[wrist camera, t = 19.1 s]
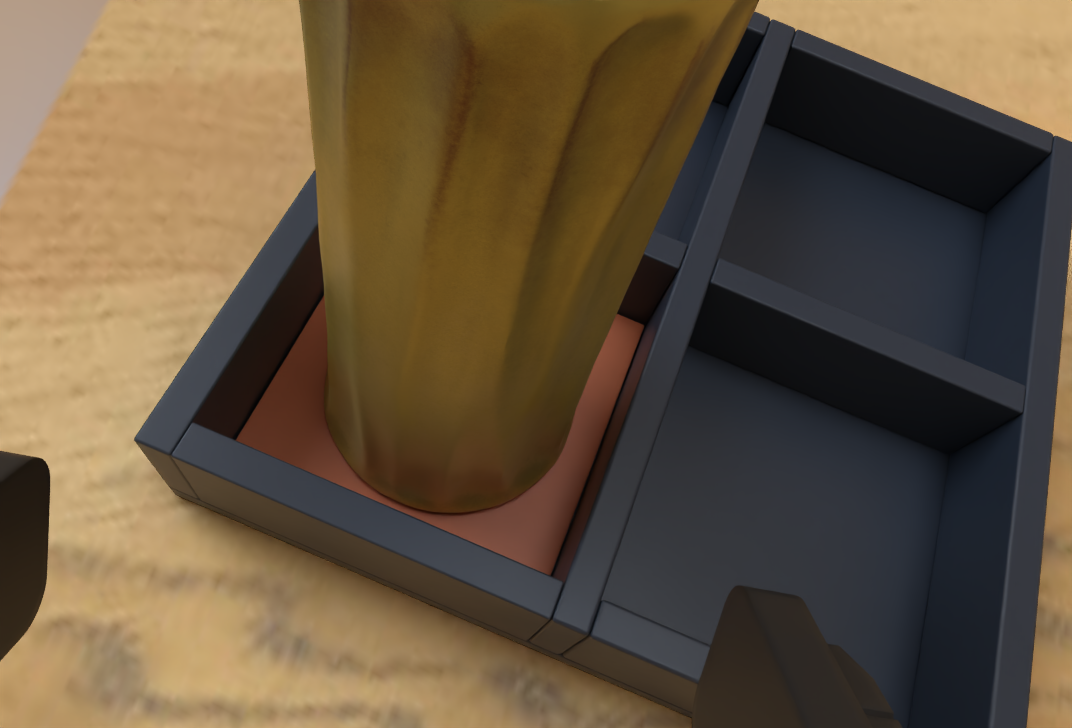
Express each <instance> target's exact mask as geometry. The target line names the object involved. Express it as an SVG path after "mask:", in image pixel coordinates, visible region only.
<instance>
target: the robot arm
mask: <svg viewBox="0 0 1072 728" xmlns="http://www.w3.org/2000/svg"><path fill="white" fill-rule="evenodd" d="M49 503H50V472H49V468H48V465H47V464H46V462H45V461H44V460H43V459H41V458H37V457H31V456H26V455H20V454H15V453H9V452H4V451H0V661H1V660H2V659H3V657H4V656H5V655H6V654H7V653H8V652H9V651H10V650H11V649H12V647H13V646H14V645H15V644H16V643H17V642H18V641H19V640H20V638H21V637H22V636H23V635H24V634H25V632H26V631H27V630H28V628H29V627H30V625H31V623H32V622H33V620H34V618H35V616H36V614H37V612H38V609H39V607H40V604H41V601H42V598H43V595H44V591H45V586H46V580H47V559H48V531H49ZM893 715H894V713H893V711H892V709H891V707H890V706H889V704H888V702H887V701H886V699H885V697H884V695H883V694H882V692H881V690H880V689H879V687H878V685H877V684H876V682H875V680H874V678H873V677H872V676H871V675H869V674H868V673H867V672H866V671H865V670H864V669H863V668H862V667H861V666H860V665H859V664H858V663H857V662H856V661H855V660H854V659H853V658H852V657H851V656H850V655H848V654H847V653H846V652H845V651H844V650H843V649H842V648H841V647H840V646H838V645H833V644H827V643H826V641H825V639H824V637H823V635H822V633H821V632H820V630H819V628H818V626H817V624H816V622H815V620H814V619H813V617H812V615H811V613H810V611H809V609H808V608H807V606H806V604H805V602H804V601H803V599H802V598H801V597H799V596H797V595H792V594H786V593H781V592H775V591H769V590H764V589H758V588H753V587H747V586H741V585H737V586H735V587H734V588H733V589H732V590H731V591H730V593H729V595H728V597H727V599H726V601H725V604H724V607H723V610H722V613H721V616H720V619H719V622H718V625H717V628H716V631H715V634H714V637H713V640H712V643H711V646H710V649H709V652H708V656H707V659H706V662H705V665H704V668H703V671H702V674H701V677H700V680H699V683H698V686H697V689H696V693H695V697H694V703H693V712H692V728H902V726H901V724H900V723H899V721H898V720H894V718H893Z"/></svg>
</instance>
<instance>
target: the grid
mask: <svg viewBox="0 0 1072 728" xmlns="http://www.w3.org/2000/svg"><path fill="white" fill-rule="evenodd" d="M1071 229H1072V142H1071V141H1068V140H1066V139H1063V138H1061V137H1058V136H1054V137H1053V134H1052V133H1049V132H1047V131H1044V130H1042V129H1040V128H1037V127H1035V126H1032V125H1030V124H1027V123H1025V122H1023V121H1020V120H1018V119H1015V118H1013V117H1010V116H1008V115H1006V114H1003V113H1001V112H998V111H996V110H993V109H991V108H988V107H986V106H984V105H981V104H979V103H976V102H974V101H971V100H969V99H967V98H964V97H962V96H959V95H957V94H954V93H952V92H950V91H947V90H945V89H942V88H940V87H937V86H935V85H932V84H930V83H928V82H925V81H923V80H920V79H918V78H915V77H913V76H911V75H908V74H906V73H903V72H901V71H898V70H896V69H893V68H891V67H889V66H886V65H884V64H881V63H879V62H876V61H874V60H872V59H869V58H867V57H864V56H862V55H859V54H857V53H855V52H852V51H850V50H847V49H845V48H842V47H840V46H837V45H835V44H833V43H830V42H828V41H825V40H823V39H820V38H818V37H816V36H813V35H811V34H808V33H806V32H803V31H801V30H797V31H796V32H795V29H794V28H793V27H791V26H788V25H786V24H783V23H781V22H778V21H776V20H771V21H770V18H769V17H767V16H764V15H762V14H759V13H757V12H754V13H753V15H752V17H751V20H750V22H749V24H748V26H747V28H746V31H745V33H744V35H743V37H742V39H741V41H740V43H739V45H738V47H737V49H736V51H735V53H734V55H733V57H732V59H731V61H730V63H729V65H728V67H727V69H726V71H725V73H724V75H723V77H722V79H721V81H720V83H719V85H718V88H717V90H716V92H715V95H714V97H713V100H712V102H711V104H710V107H709V109H708V111H707V114H706V116H705V118H704V121H703V123H702V125H701V128H700V130H699V132H698V134H697V136H696V139H695V141H694V143H693V145H692V147H691V150H690V152H689V154H688V156H687V158H686V160H685V162H684V165H683V167H682V169H681V171H680V173H679V175H678V178H677V180H676V182H675V184H674V187H673V189H672V191H671V193H670V196H669V198H668V200H667V202H666V205H665V207H664V209H663V211H662V213H661V215H660V218H659V220H658V222H657V224H656V226H655V228H654V231H653V233H652V235H651V238H650V240H649V242H648V245H647V247H646V249H645V252H644V254H643V256H642V259H641V261H640V263H639V265H638V267H637V270H636V272H635V274H634V276H633V278H632V280H631V282H630V285H629V287H628V289H627V291H626V294H625V296H624V298H623V300H622V303H621V305H620V307H619V310H618V312H617V314H616V317H615V319H614V321H613V323H612V326H611V328H610V330H609V333H608V335H607V337H606V339H605V341H604V344H603V346H602V348H601V350H600V352H599V355H598V357H597V359H596V361H595V363H594V366H593V368H592V371H591V373H590V376H589V378H588V381H587V384H586V386H585V389H584V391H583V393H582V396H581V398H580V400H579V403H578V405H577V407H576V410H575V414H574V418H573V422H572V426H571V429H570V432H569V435H568V438H567V441H566V444H565V446H564V448H563V451H562V453H561V455H560V457H559V458H558V460H557V461H556V463H555V465H554V466H553V467H552V468H551V469H550V470H549V471H548V472H547V473H546V474H545V475H544V476H543V477H542V478H541V479H540V480H539V481H538V482H537V483H536V484H534V485H533V486H532V487H530V488H529V489H528V490H527V491H525V492H523V493H522V494H520V495H518V496H517V497H515V498H513V499H511V500H509V501H507V502H505V503H502V504H500V505H497V506H494V507H491V508H487V509H482V510H478V511H471V512H462V513H439V512H431V511H425V510H421V509H417V508H413V507H411V506H408V505H405V504H402V503H400V502H398V501H396V500H393V499H391V498H389V497H387V496H385V495H383V494H382V493H380V492H378V491H377V490H376V489H374V488H373V487H371V486H370V485H369V484H368V483H366V482H365V481H364V480H363V479H362V478H361V477H360V476H359V475H358V474H357V473H356V472H355V471H354V470H353V469H352V468H351V466H350V465H349V464H348V463H347V462H346V460H345V458H344V457H343V455H342V454H341V452H340V451H339V449H338V447H337V445H336V444H335V442H334V440H333V437H332V435H331V433H330V430H329V427H328V424H327V421H326V417H325V410H324V387H325V378H326V373H327V369H328V362H327V323H326V311H325V297H324V281H323V270H322V261H321V253H320V243H319V227H318V207H317V187H316V169H315V171H314V172H313V174H312V175H311V176H310V178H309V179H308V181H307V182H306V184H305V185H304V187H303V188H302V190H301V191H300V193H299V194H298V196H297V197H296V199H295V200H294V202H293V203H292V205H291V206H290V208H289V209H288V211H287V212H286V214H285V215H284V217H283V218H282V220H281V221H280V223H279V224H278V226H277V227H276V229H275V230H274V231H273V233H272V234H271V236H270V237H269V239H268V240H267V242H266V243H265V245H264V246H263V248H262V249H261V251H260V252H259V254H258V255H257V257H256V258H255V260H254V261H253V263H252V264H251V266H250V267H249V269H248V270H247V272H246V273H245V275H244V276H243V278H242V279H241V281H240V282H239V284H238V285H237V286H236V288H235V289H234V291H233V292H232V294H231V295H230V297H229V298H228V300H227V301H226V303H225V304H224V306H223V307H222V309H221V310H220V312H219V313H218V315H217V316H216V318H215V319H214V321H213V322H212V324H211V325H210V327H209V328H208V330H207V331H206V333H205V334H204V336H203V337H202V339H201V340H200V341H199V343H198V344H197V346H196V347H195V349H194V350H193V352H192V353H191V355H190V356H189V358H188V359H187V361H186V362H185V364H184V365H183V367H182V368H181V370H180V371H179V373H178V374H177V376H176V377H175V379H174V380H173V382H172V383H171V385H170V386H169V388H168V389H167V391H166V392H165V393H164V395H163V396H162V398H161V399H160V401H159V402H158V404H157V405H156V407H155V408H154V410H153V411H152V413H151V414H150V416H149V417H148V419H147V420H146V422H145V423H144V425H143V426H142V428H141V429H140V431H139V432H138V434H137V435H136V437H135V439H134V441H135V442H136V443H137V445H138V446H139V447H140V449H141V450H142V451H143V453H144V454H145V455H146V457H147V458H148V459H149V461H150V462H151V463H152V465H153V466H154V467H155V469H156V470H157V471H158V473H159V474H160V475H161V477H162V478H163V479H164V480H165V482H166V483H167V484H168V486H169V487H170V488H171V490H172V491H173V492H174V493H175V494H176V495H178V496H180V497H183V498H185V499H187V500H189V501H192V502H194V503H196V504H199V505H201V506H203V507H206V508H208V509H210V510H213V511H215V512H217V513H219V514H222V515H224V516H226V517H229V518H231V519H233V520H236V521H238V522H240V523H243V524H245V525H247V526H250V527H252V528H254V529H256V530H259V531H261V532H263V533H266V534H268V535H270V536H273V537H275V538H277V539H280V540H282V541H284V542H286V543H289V544H291V545H293V546H296V547H298V548H300V549H303V550H305V551H307V552H310V553H312V554H314V555H317V556H319V557H321V558H323V559H326V560H328V561H330V562H333V563H335V564H337V565H340V566H342V567H344V568H347V569H349V570H351V571H353V572H356V573H358V574H360V575H363V576H365V577H367V578H370V579H372V580H374V581H377V582H379V583H381V584H383V585H386V586H388V587H390V588H393V589H395V590H397V591H400V592H402V593H404V594H407V595H409V596H411V597H414V598H416V599H418V600H420V601H423V602H425V603H427V604H430V605H432V606H434V607H437V608H439V609H441V610H444V611H446V612H448V613H450V614H453V615H455V616H457V617H460V618H462V619H464V620H467V621H469V622H471V623H474V624H476V625H478V626H481V627H483V628H485V629H487V630H490V631H492V632H494V633H497V634H499V635H501V636H504V637H506V638H508V639H511V640H513V641H515V642H517V643H520V644H522V645H524V646H527V647H529V648H531V649H534V650H536V651H538V652H541V653H543V654H545V655H548V656H550V657H552V658H554V659H557V660H559V661H561V662H564V663H566V664H568V665H571V666H573V667H575V668H578V669H580V670H582V671H584V672H587V673H589V674H591V675H594V676H596V677H598V678H601V679H603V680H605V681H608V682H610V683H612V684H615V685H617V686H619V687H621V688H624V689H626V690H628V691H631V692H633V693H635V694H638V695H640V696H642V697H645V698H647V699H649V700H651V701H654V702H656V703H658V704H661V705H663V706H665V707H668V708H670V709H672V710H675V711H677V712H679V713H681V714H684V715H686V716H688V717H691V718H692V712H693V703H694V697H695V693H696V689H697V686H698V683H699V680H700V677H701V674H702V671H703V668H704V665H705V662H706V659H707V656H708V652H709V649H710V646H711V643H712V640H713V637H714V634H715V631H716V628H717V625H718V622H719V619H720V616H721V613H722V610H723V607H724V604H725V601H726V599H727V597H728V595H729V593H730V591H731V590H732V589H733V588H734V587H735V586H737V585H741V586H747V587H753V588H758V589H764V590H769V591H775V592H781V593H786V594H792V595H797V596H799V597H801V598H802V599H803V601H804V602H805V604H806V606H807V608H808V609H809V611H810V613H811V615H812V617H813V619H814V620H815V622H816V624H817V626H818V628H819V630H820V632H821V633H822V635H823V637H824V639H825V641H826V643H827V644H833V645H838V646H840V647H841V648H842V649H843V650H844V651H845V652H846V653H847V654H848V655H850V656H851V657H852V658H853V659H854V660H855V661H856V662H857V663H858V664H859V665H860V666H861V667H862V668H863V669H864V670H865V671H866V672H867V673H868V674H869V675H871V676H872V677H873V678H874V680H875V682H876V684H877V685H878V687H879V689H880V690H881V692H882V694H883V695H884V697H885V699H886V701H887V702H888V704H889V706H890V707H891V709H892V711H893V713H894V715H893V718H894V720H898V721H899V723H900V724H901V726H902V728H1026V727H1027V716H1028V705H1029V694H1030V683H1031V672H1032V661H1033V650H1034V639H1035V628H1036V617H1037V606H1038V594H1039V583H1040V572H1041V561H1042V550H1043V539H1044V528H1045V517H1046V506H1047V495H1048V484H1049V473H1050V462H1051V450H1052V439H1053V428H1054V417H1055V406H1056V395H1057V384H1058V373H1059V362H1060V351H1061V340H1062V329H1063V317H1064V306H1065V295H1066V284H1067V273H1068V262H1069V251H1070V240H1071Z"/></svg>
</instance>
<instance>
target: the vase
mask: <svg viewBox="0 0 1072 728" xmlns="http://www.w3.org/2000/svg"><path fill="white" fill-rule="evenodd" d="M758 2H759V0H299V4H300V13H301V22H302V31H303V41H304V51H305V62H306V74H307V86H308V97H309V109H310V121H311V132H312V142H313V150H314V159H315V169H316V187H317V207H318V227H319V243H320V253H321V261H322V270H323V281H324V297H325V311H326V323H327V362H328V369H327V373H326V378H325V387H324V410H325V417H326V421H327V424H328V427H329V430H330V433H331V435H332V437H333V440H334V442H335V444H336V445H337V447H338V449H339V451H340V452H341V454H342V455H343V457H344V458H345V460H346V462H347V463H348V464H349V465H350V466H351V468H352V469H353V470H354V471H355V472H356V473H357V474H358V475H359V476H360V477H361V478H362V479H363V480H364V481H365V482H366V483H368V484H369V485H370V486H371V487H373V488H374V489H376V490H377V491H378V492H380V493H382V494H383V495H385V496H387V497H389V498H391V499H393V500H396V501H398V502H400V503H402V504H405V505H408V506H411V507H413V508H417V509H421V510H425V511H431V512H439V513H462V512H471V511H478V510H482V509H487V508H491V507H494V506H497V505H500V504H502V503H505V502H507V501H509V500H511V499H513V498H515V497H517V496H518V495H520V494H522V493H523V492H525V491H527V490H528V489H529V488H530V487H532V486H533V485H534V484H536V483H537V482H538V481H539V480H540V479H541V478H542V477H543V476H544V475H545V474H546V473H547V472H548V471H549V470H550V469H551V468H552V467H553V466H554V465H555V463H556V461H557V460H558V458H559V457H560V455H561V453H562V451H563V448H564V446H565V444H566V441H567V438H568V435H569V432H570V429H571V426H572V422H573V418H574V414H575V410H576V407H577V405H578V403H579V400H580V398H581V396H582V393H583V391H584V389H585V386H586V384H587V381H588V378H589V376H590V373H591V371H592V368H593V366H594V363H595V361H596V359H597V357H598V355H599V352H600V350H601V348H602V346H603V344H604V341H605V339H606V337H607V335H608V333H609V330H610V328H611V326H612V323H613V321H614V319H615V317H616V314H617V312H618V310H619V307H620V305H621V303H622V300H623V298H624V296H625V294H626V291H627V289H628V287H629V285H630V282H631V280H632V278H633V276H634V274H635V272H636V270H637V267H638V265H639V263H640V261H641V259H642V256H643V254H644V252H645V249H646V247H647V245H648V242H649V240H650V238H651V235H652V233H653V231H654V228H655V226H656V224H657V222H658V220H659V218H660V215H661V213H662V211H663V209H664V207H665V205H666V202H667V200H668V198H669V196H670V193H671V191H672V189H673V187H674V184H675V182H676V180H677V178H678V175H679V173H680V171H681V169H682V167H683V165H684V162H685V160H686V158H687V156H688V154H689V152H690V150H691V147H692V145H693V143H694V141H695V139H696V136H697V134H698V132H699V130H700V128H701V125H702V123H703V121H704V118H705V116H706V114H707V111H708V109H709V107H710V104H711V102H712V100H713V97H714V95H715V92H716V90H717V88H718V85H719V83H720V81H721V79H722V77H723V75H724V73H725V71H726V69H727V67H728V65H729V63H730V61H731V59H732V57H733V55H734V53H735V51H736V49H737V47H738V45H739V43H740V41H741V39H742V37H743V35H744V33H745V31H746V28H747V26H748V24H749V22H750V20H751V17H752V15H753V13H754V11H755V8H756V6H757V4H758Z"/></svg>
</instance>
